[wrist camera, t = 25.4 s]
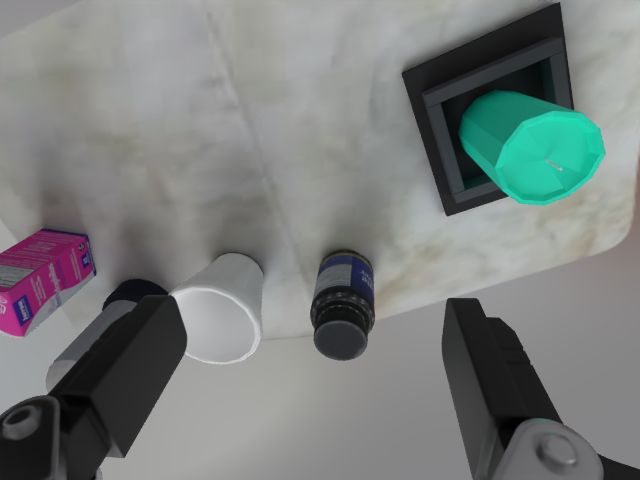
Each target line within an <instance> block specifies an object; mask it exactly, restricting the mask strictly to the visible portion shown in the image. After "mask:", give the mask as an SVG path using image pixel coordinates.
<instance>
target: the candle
mask: <svg viewBox="0 0 640 480" xmlns="http://www.w3.org/2000/svg"><path fill="white" fill-rule="evenodd" d="M458 134H459V137H460V140H461V144H462V147H463V149H464V150H465V151H466V152H467V154H468V155H469V156H470V157H471V158H472V159H473V160H474V161H475V162H476V163H477V164H478V165H479V166H480V167H481V168H482V169H483V171H484V172H485V173H486V174H487V175H488V176H489V177H490V178H491V179H492V180H493V181H494V182H495V183H496V184H497V185H498V187H499V188H500V189H501V190H502V191H503V192H505V193H506V194H507V195H509V196H510V197H512V198H513V199H514V200H516V201H517V202H518V203H520V204H531V205H543V206H544V205H547V204H549V203H552V202H555V201H557V200H560V199H562V198H565V197H567V196H569V195H571V194H572V193H573V192H574V191H576V190H577V189H578V188H579V187H581V186H582V185H583V184H584V183H586V182H587V181H588V180H589V179H591V178H592V177H593V175H594V173H595V171H596V170H597V168H598V166H599V164H600V163H601V161H602V159H603V157H604V156H605V154H606V153H605V149H604V144H603V140H602V135H601V131H600V128H599V127H597V126H596V125H595V124H594V123H593V122H592V121H591V120H589V119H588V118H587V117H586V116H585V115H584V114H582V113H580V112H577V111H574V110H571V109H568V108H565V107H562V106H558V105H555V104H552V103H549V102H546V101H543V100H540V99H537V98H534V97H531V96H527V95H524V94H521V93H518V92H515V91H504V90H494V91H491V92H489V93H487V94H485V95H483V96H481V97H478V98H476V99H475V100H474V101H473V103H472V104H471V105H470V106H469V107H468V109H467V110H466V111H465V112H464V113H463V115H462V119H461V123H460V127H459V131H458Z"/></svg>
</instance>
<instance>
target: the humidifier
mask: <svg viewBox="0 0 640 480" xmlns="http://www.w3.org/2000/svg"><path fill="white" fill-rule="evenodd" d="M146 295H168V292H166V291H165V290H164V289H163V288H161V287H160V286H158V285H156V284H154V283H152V282H150V281H146V280H141V279H132V280H128V281H125V282H123V283H122V284H121V285H120V286H119V287H118V288H117V289H116V290H115V291H114V292H113V293H112V294H111V295H110V296H109V297H108V298H107V300H106V301H105V302H104V305H103V308H102V312H101V313H100V315H99V316H98V317H97V318H96V319H95V320H94V321H93V322H92V323H91V324H90V325H89V326H88V327H87V328H86V329H85V330H84V331H83V332H82V333H81V334H80V335H79V336H78V337H77V338H76V339H75V340H74V341H73V342H72V343H71V344H70V345H69V346H68V348H66V350H65V351H64V352H63V353H62V354H61V355H60V356H59V357H58V358H57V359H56V360H55V361H54V362H53V364H52V365H51V366H50V367H49V370H48V373H47V377H46V388H47V391H48V393H49V392H50V391H51V390H52V389H53V388H54V386H55V385H56V384H57V383H58V382H59V381H60V380H61V379H62V378H63V376H64V375H65V374H66V373H67V372H68V371H69V370H70V369H71V368H72V366H73V365H74V364H75V363H76V362H77V361H78V360H79V359H80V358H81V356H82V355H83V354H84V353H85V352H86V351H89V348H90V346H91V345H92V344H93V343H94V342H95V341H96V340H97V339H99V336H100V335H101V334H102V333H103V332H104V331H105V330H106V329H107V327H108V326H109V325H110V324H111V323H112V322H114V321H115V320H117V319H118V318H120V317H121V316H123V315H124V314H125V313H127V312H131V311H132V309H133V308H134V307H135V306H136V305H137V304H138V302H139V301H140V300H141V299H142V298H143V297H144V296H146Z"/></svg>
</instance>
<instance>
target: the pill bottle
mask: <svg viewBox="0 0 640 480" xmlns="http://www.w3.org/2000/svg"><path fill="white" fill-rule="evenodd" d="M310 318H311V322H312V325H313V327H314V328H315V331H314V343H315V346H316V348H317V349H318V350H319V351H320V352H321V353H322V354H323V355H325V356H326V357H328V358H331V359H334V360H344V361H345V360H351V359H354V358H356V357H358V356H359V355H361V354H362V353H363V352H364V351H365V349H366V347H367V341H368V340H367V336H368V333H369V332H370V331H371V330H372V327H373V325H374V321H375V311H374V280H373V269H372V266H371V264H370V262H369V261H368V260H367V259H366V258H365V257H363V256H361V255H360V254H359V253H357V252H354V251H349V250H342V251H337V252H334V253H331V254H330V255H328V256H327V257H326V258H325V259H324V260H323V262H322V263H321V264H320V268H319V272H318V277H317V282H316V287H315V292H314V297H313V301H312V306H311V311H310Z"/></svg>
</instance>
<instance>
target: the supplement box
mask: <svg viewBox="0 0 640 480" xmlns="http://www.w3.org/2000/svg"><path fill="white" fill-rule="evenodd" d="M94 276H96V272H95V268H94V265H93V260H92V256H91V251H90V247H89V240H88V236H87V235H80V234H73V233H66V232H59V231H52V230H47V229H41V230H40V231H38V232H36V233H35V234H33V235H31V236H29V237H28V238H26V239H25V240H23V241H21V242H19V243H18V244H16V245H14V246H12V247H11V248H9V249H7V250H6V251H4V252H2V253H1V254H0V335H4V336H11V337H17V338H25V337H26V336H27V335H28V334H29V333H31V332H32V331H33V330H34V329H35V328H36V327H37V326H39V325H40V324H41V323H42V322H43V321H44V320H45V319H47V318H48V317H49V316H50V315H51V314H52V313H53V312H55V311H56V310H57V309H58V308H59V307H60V306H61V305H62V304H64V303H65V302H66V301H67V300H68V299H69V298H70V297H72V296H73V295H74V294H75V293H76V292H77V291H78V290H80V289H81V288H82V287H83V286H84V285H85V284H86V283H88V282H89V281H90V280H91V279H92V278H93V277H94Z"/></svg>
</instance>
